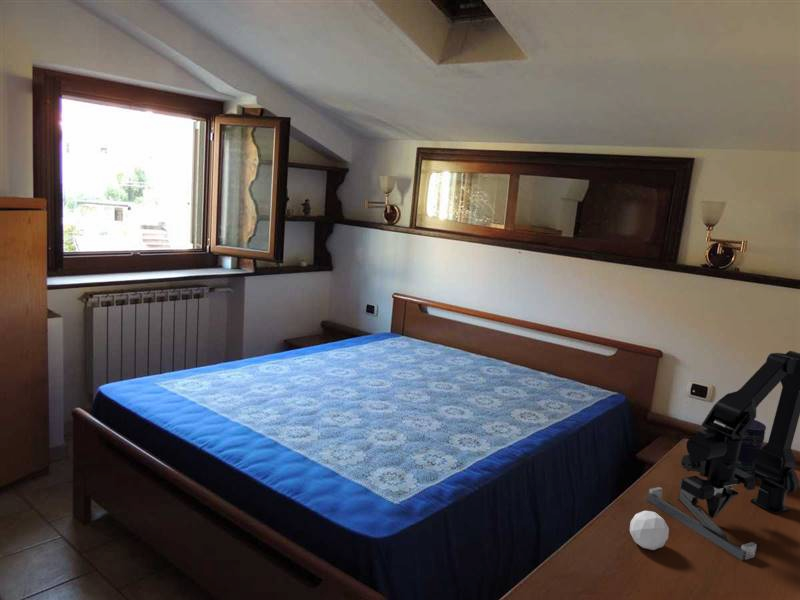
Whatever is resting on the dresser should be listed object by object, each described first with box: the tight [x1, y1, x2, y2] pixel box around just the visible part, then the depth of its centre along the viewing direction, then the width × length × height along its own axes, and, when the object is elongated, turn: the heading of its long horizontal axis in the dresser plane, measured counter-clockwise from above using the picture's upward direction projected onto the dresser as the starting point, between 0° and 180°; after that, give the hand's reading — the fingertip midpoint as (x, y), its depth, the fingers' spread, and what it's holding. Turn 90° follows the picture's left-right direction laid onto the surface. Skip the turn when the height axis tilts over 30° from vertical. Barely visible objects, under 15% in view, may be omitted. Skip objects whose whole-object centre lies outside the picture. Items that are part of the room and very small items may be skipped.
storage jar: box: [724, 419, 767, 479], centre depth 175 cm, size 10×10×15 cm
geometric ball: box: [629, 510, 670, 551], centre depth 135 cm, size 8×8×8 cm
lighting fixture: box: [677, 488, 728, 540], centre depth 148 cm, size 19×3×4 cm, turn 3°
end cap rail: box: [645, 486, 757, 561], centre depth 145 cm, size 4×26×3 cm, turn 26°
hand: (712, 516), depth 147 cm, fingers closed
